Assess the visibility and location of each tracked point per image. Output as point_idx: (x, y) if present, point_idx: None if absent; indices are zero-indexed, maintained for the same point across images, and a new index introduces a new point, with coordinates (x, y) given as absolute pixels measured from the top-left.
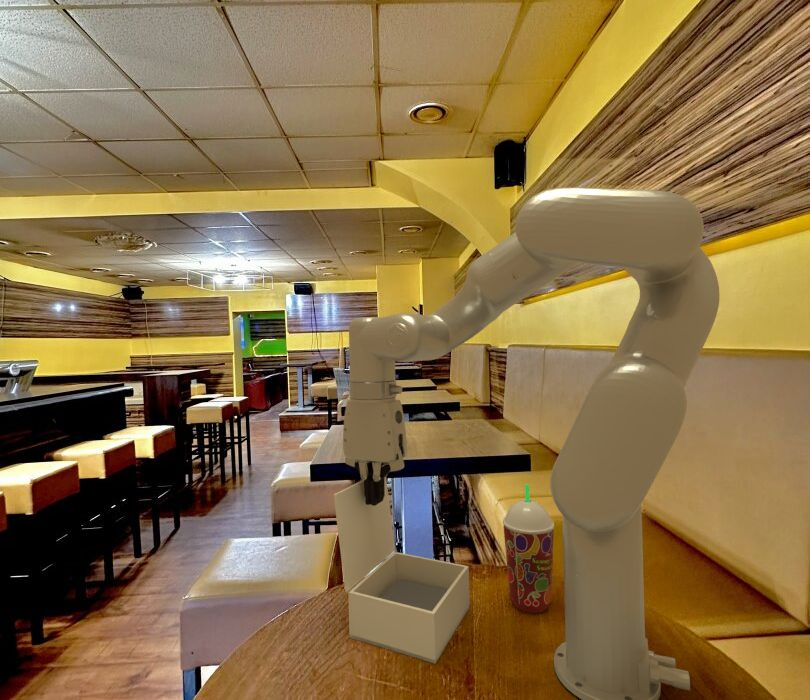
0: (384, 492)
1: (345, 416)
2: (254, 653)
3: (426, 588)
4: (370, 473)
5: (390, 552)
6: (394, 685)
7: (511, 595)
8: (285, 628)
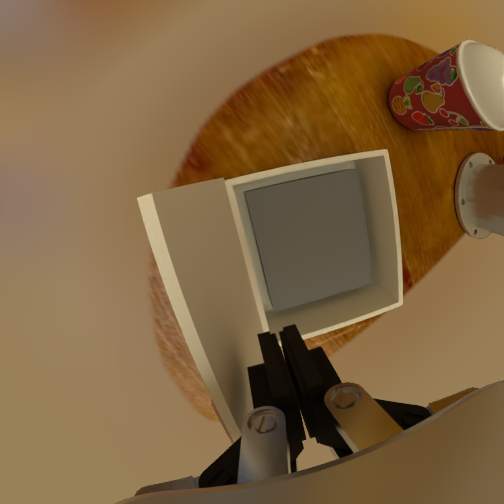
0: (324, 352)
1: None
2: (194, 388)
3: (309, 189)
4: (294, 449)
5: (228, 200)
6: (352, 329)
7: (403, 121)
8: (177, 350)
